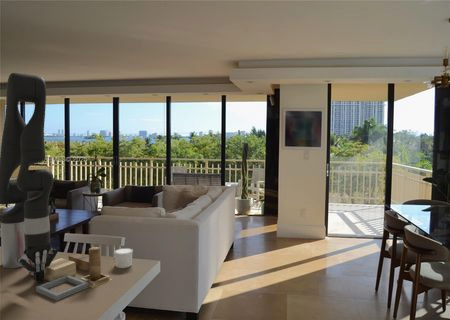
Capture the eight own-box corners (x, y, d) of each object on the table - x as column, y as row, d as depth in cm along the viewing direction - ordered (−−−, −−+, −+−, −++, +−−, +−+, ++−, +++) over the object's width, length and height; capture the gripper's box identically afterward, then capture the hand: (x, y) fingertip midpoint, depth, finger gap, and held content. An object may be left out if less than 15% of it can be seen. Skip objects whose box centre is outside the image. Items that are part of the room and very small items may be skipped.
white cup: (110, 270, 133) (110, 252, 133) (122, 264, 140) (121, 246, 139) (125, 273, 131) (125, 254, 130) (136, 267, 137) (136, 249, 137)
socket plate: (77, 286, 120) (77, 278, 120) (97, 278, 127) (97, 270, 126) (92, 292, 116) (92, 284, 115) (112, 283, 122) (112, 275, 122)
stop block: (69, 268, 135) (68, 255, 134) (76, 266, 137) (75, 253, 137) (89, 276, 128) (88, 262, 128) (96, 273, 131) (96, 259, 130)
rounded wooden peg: (87, 281, 120) (86, 249, 120) (96, 277, 123) (95, 246, 123) (94, 283, 119) (93, 251, 118) (103, 279, 122) (102, 248, 121)
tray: (36, 296, 113) (36, 286, 112) (68, 283, 122) (67, 275, 122) (56, 305, 107) (56, 295, 107) (88, 291, 116) (88, 282, 116)
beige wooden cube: (40, 281, 123) (40, 265, 123) (62, 274, 130) (61, 257, 130) (55, 287, 119) (54, 269, 119) (76, 278, 126) (75, 262, 125)
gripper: (50, 224, 125) (51, 272, 126) (10, 232, 114) (12, 285, 115) (62, 227, 121) (64, 277, 122) (22, 236, 110) (24, 291, 111)
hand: (39, 281), depth 119 cm, fingers closed
